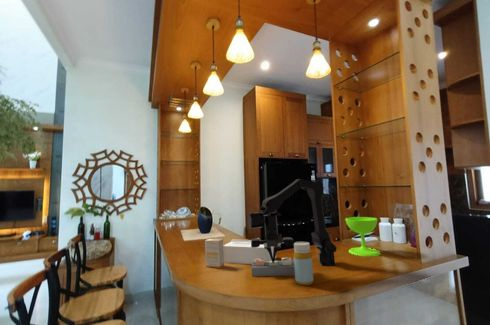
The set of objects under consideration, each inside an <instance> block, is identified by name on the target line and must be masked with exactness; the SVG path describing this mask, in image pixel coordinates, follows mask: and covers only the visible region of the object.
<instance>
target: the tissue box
mask: <svg viewBox="0 0 490 325" xmlns="http://www.w3.org/2000/svg"><path fill="white" fill-rule="evenodd" d="M251 241H252V239H250V240H249V239H235V238H232V239H231V240H230V241H229V242H228V243H225V244H223V252H224V264H225V263H229V264H240V265H252V263H253V262H255V259H261V258H264V261H272V260H271V257H270V254H269V252H268V250H267V249H264V245H260V246H259V247H251ZM273 249H274V246H272V247H271V250H272V255H273ZM276 258H277V255H276V256H275V259H276Z"/></svg>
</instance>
